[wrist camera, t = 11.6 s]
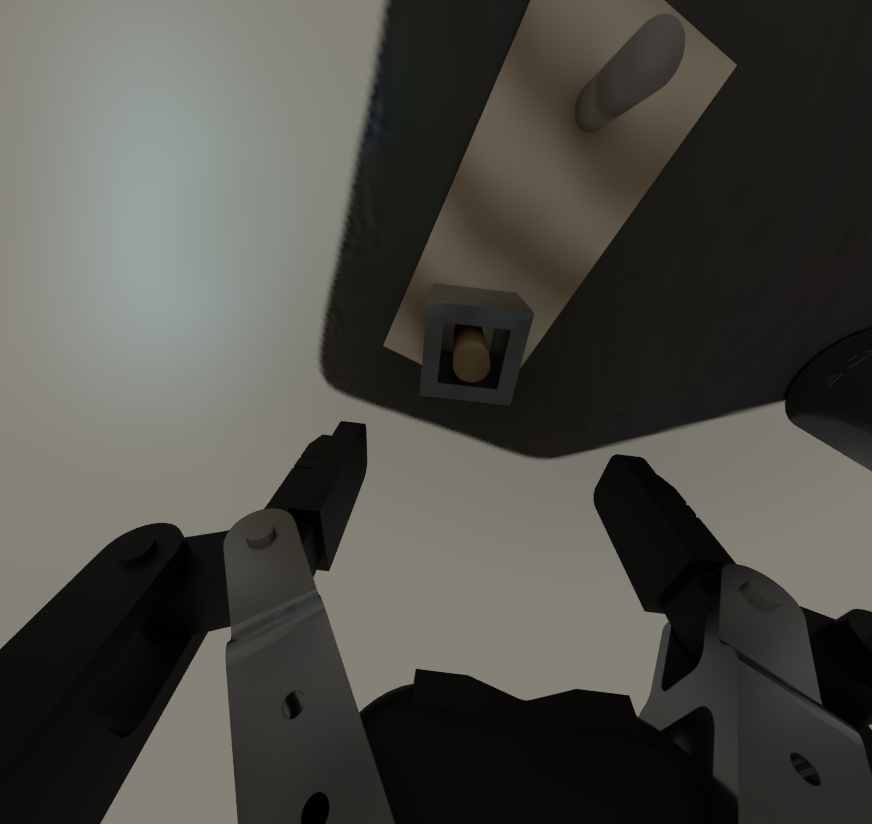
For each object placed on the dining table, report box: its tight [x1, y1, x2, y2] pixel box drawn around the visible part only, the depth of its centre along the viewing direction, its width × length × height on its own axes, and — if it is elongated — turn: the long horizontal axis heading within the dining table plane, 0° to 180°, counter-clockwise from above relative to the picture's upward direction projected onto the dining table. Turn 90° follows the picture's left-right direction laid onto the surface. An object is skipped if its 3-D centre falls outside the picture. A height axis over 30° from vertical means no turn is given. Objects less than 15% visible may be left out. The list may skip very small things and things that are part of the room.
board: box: [383, 0, 737, 382], centre depth 17 cm, size 21×10×8 cm, turn 153°
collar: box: [420, 283, 534, 406], centre depth 20 cm, size 6×6×6 cm
